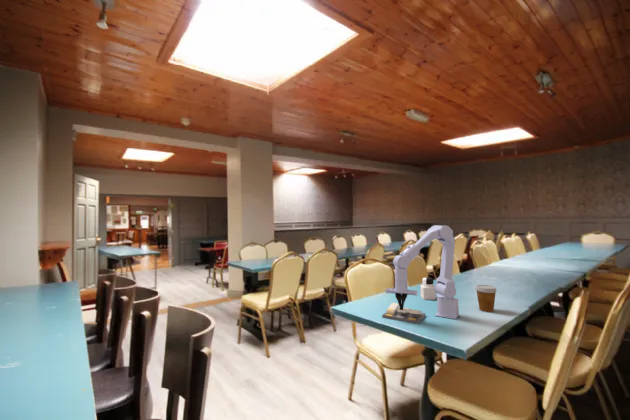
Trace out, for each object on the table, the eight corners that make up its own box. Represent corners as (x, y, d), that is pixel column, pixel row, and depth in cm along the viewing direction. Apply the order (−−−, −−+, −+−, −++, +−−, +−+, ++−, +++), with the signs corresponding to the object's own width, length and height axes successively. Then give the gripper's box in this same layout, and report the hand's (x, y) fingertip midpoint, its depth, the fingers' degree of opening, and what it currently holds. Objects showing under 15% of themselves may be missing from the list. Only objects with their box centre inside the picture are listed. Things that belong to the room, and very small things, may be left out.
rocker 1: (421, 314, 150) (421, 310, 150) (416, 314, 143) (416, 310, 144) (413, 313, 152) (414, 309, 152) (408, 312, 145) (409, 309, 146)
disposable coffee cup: (499, 309, 159) (498, 286, 159) (494, 314, 152) (493, 289, 152) (479, 306, 165) (478, 283, 166) (473, 310, 159) (472, 287, 159)
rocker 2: (409, 311, 153) (410, 308, 153) (404, 312, 146) (405, 309, 147) (402, 310, 155) (402, 307, 155) (397, 311, 148) (397, 308, 149)
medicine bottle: (432, 296, 187) (432, 276, 187) (436, 299, 180) (435, 279, 180) (420, 296, 187) (420, 276, 188) (423, 299, 180) (423, 279, 181)
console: (425, 315, 151) (425, 311, 151) (418, 323, 141) (417, 319, 141) (391, 310, 161) (391, 306, 161) (382, 317, 150) (382, 313, 150)
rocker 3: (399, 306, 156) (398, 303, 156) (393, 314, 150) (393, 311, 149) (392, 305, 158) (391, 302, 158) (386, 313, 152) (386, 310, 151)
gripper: (417, 280, 150) (417, 308, 149) (386, 278, 155) (387, 305, 154) (416, 283, 143) (417, 312, 143) (384, 280, 148) (385, 309, 148)
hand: (401, 309), depth 148 cm, fingers closed, pressing on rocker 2
